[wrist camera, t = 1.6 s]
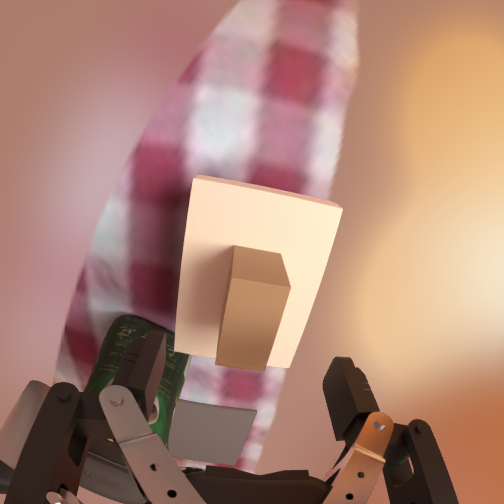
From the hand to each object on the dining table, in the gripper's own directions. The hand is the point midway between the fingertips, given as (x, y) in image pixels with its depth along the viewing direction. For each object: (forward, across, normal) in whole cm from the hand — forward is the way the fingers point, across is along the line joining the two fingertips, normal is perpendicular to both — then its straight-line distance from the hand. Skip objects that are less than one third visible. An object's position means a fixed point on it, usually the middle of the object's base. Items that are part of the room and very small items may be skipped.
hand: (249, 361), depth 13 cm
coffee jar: (+14, +9, +14) cm, 21 cm away
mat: (+14, +2, +31) cm, 34 cm away
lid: (+9, 0, 0) cm, 9 cm away
